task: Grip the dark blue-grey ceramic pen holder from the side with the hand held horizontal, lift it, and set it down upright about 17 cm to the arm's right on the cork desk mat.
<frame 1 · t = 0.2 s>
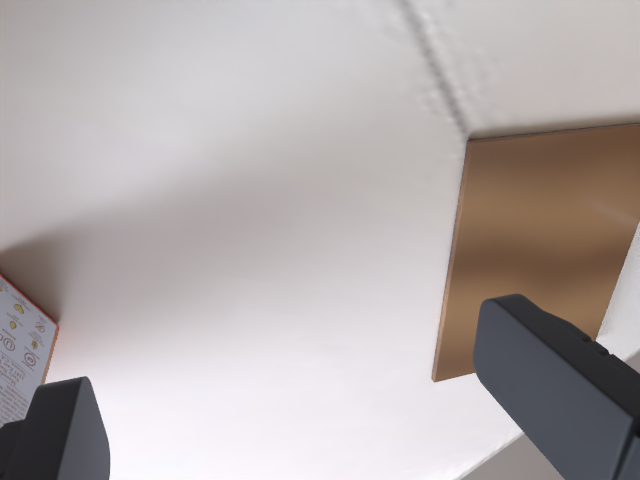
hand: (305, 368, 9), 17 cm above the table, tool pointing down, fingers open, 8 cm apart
desk mat: (540, 259, 35), on the table
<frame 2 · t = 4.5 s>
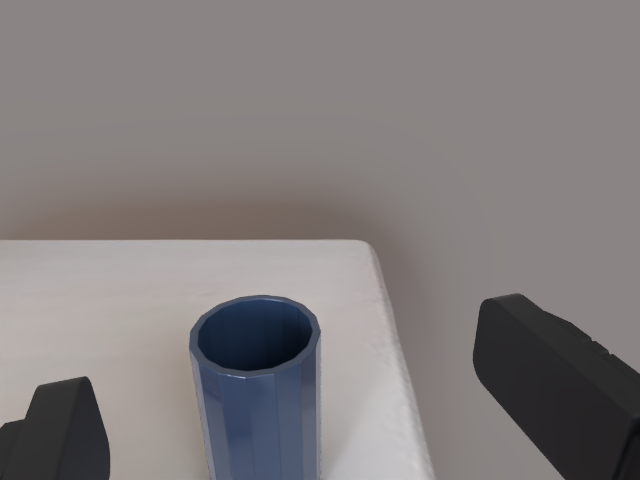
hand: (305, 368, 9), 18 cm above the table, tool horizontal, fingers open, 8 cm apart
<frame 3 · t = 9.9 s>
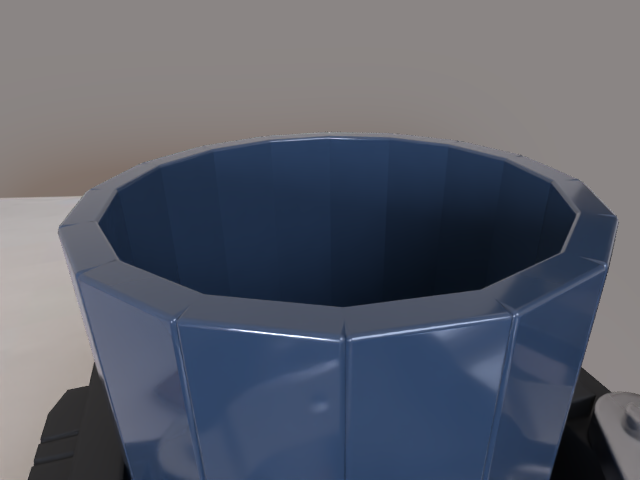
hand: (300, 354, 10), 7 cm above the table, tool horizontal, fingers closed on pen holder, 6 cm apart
when the fingers open (7 cm above the table, at t = 18.8 s): pen holder stays where it is, resting on desk mat.
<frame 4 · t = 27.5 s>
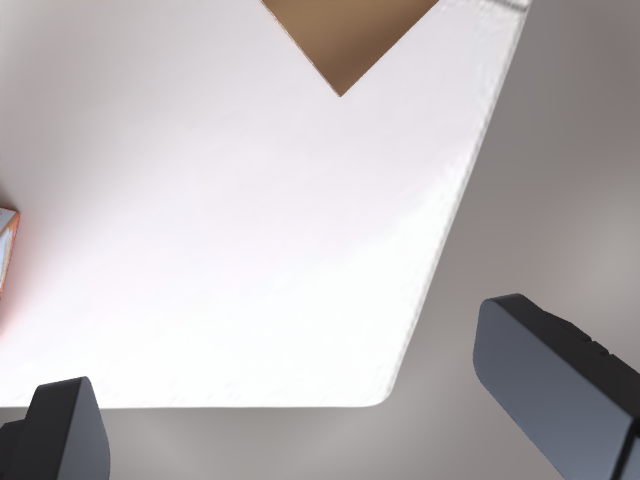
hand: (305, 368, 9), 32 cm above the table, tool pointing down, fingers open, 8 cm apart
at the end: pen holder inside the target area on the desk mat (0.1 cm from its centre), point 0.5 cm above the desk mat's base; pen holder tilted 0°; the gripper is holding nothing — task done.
